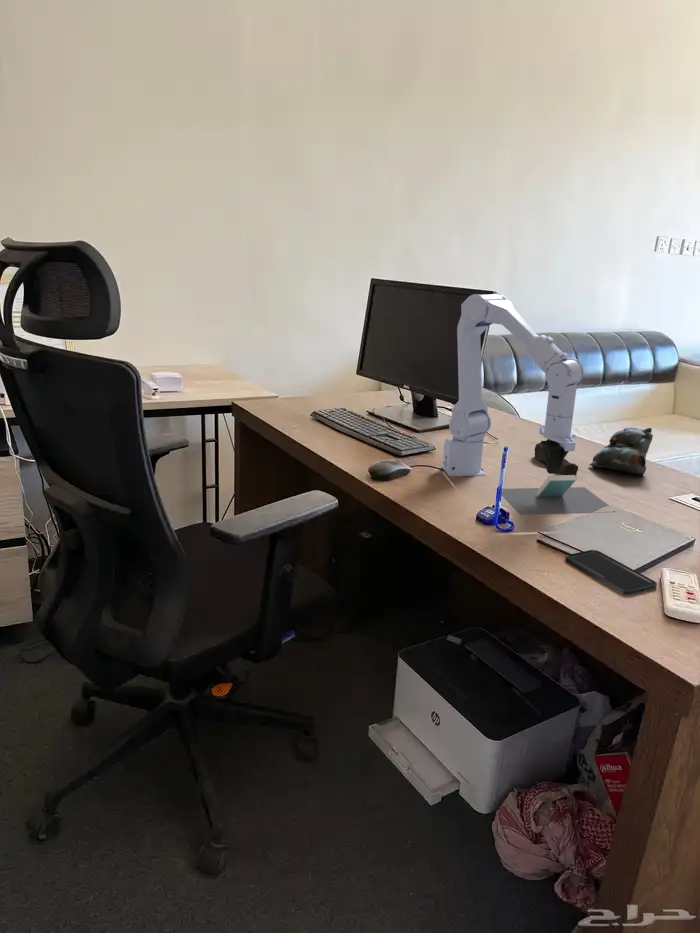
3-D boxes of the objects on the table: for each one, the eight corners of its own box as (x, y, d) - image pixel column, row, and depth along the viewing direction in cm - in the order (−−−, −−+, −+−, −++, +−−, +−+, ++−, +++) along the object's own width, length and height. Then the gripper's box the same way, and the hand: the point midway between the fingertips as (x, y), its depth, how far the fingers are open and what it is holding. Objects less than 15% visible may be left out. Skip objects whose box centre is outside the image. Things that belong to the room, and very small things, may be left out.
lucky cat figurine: (580, 464, 180) (597, 416, 181) (616, 481, 183) (633, 433, 184) (615, 465, 165) (633, 413, 166) (654, 483, 168) (672, 431, 169)
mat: (520, 516, 144) (520, 514, 144) (495, 490, 159) (495, 488, 159) (617, 513, 147) (617, 511, 147) (584, 488, 162) (584, 487, 162)
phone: (595, 549, 127) (660, 584, 114) (594, 554, 127) (658, 589, 115) (562, 555, 124) (625, 592, 111) (561, 561, 124) (624, 598, 111)
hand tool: (577, 478, 169) (580, 461, 168) (562, 479, 169) (565, 461, 167) (544, 457, 187) (546, 440, 186) (530, 457, 187) (532, 441, 185)
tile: (537, 496, 155) (550, 480, 148) (536, 491, 155) (549, 475, 148) (562, 496, 155) (576, 480, 148) (561, 491, 156) (575, 475, 149)
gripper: (591, 422, 143) (583, 483, 147) (562, 407, 157) (555, 462, 161) (560, 422, 142) (552, 483, 146) (533, 407, 156) (527, 463, 160)
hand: (552, 472), depth 154 cm, fingers closed
